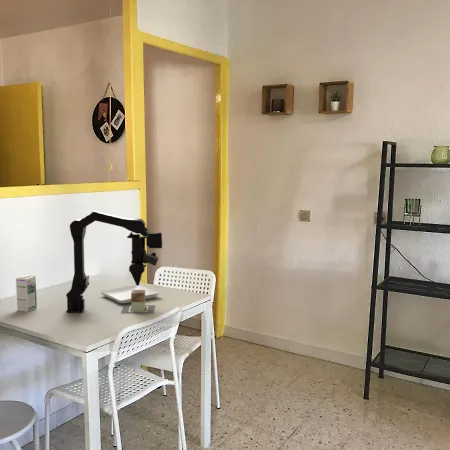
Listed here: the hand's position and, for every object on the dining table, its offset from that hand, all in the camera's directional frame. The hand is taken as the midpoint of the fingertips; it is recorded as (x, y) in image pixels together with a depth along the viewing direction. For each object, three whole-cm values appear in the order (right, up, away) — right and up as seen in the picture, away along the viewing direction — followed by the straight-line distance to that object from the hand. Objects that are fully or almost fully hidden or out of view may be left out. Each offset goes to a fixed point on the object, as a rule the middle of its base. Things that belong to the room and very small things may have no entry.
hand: (138, 283), depth 211 cm
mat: (0, -12, +2) cm, 12 cm away
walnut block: (0, -8, +1) cm, 8 cm away
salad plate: (-8, -10, +21) cm, 24 cm away
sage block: (0, -12, +1) cm, 12 cm away
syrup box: (-48, -11, -1) cm, 50 cm away
